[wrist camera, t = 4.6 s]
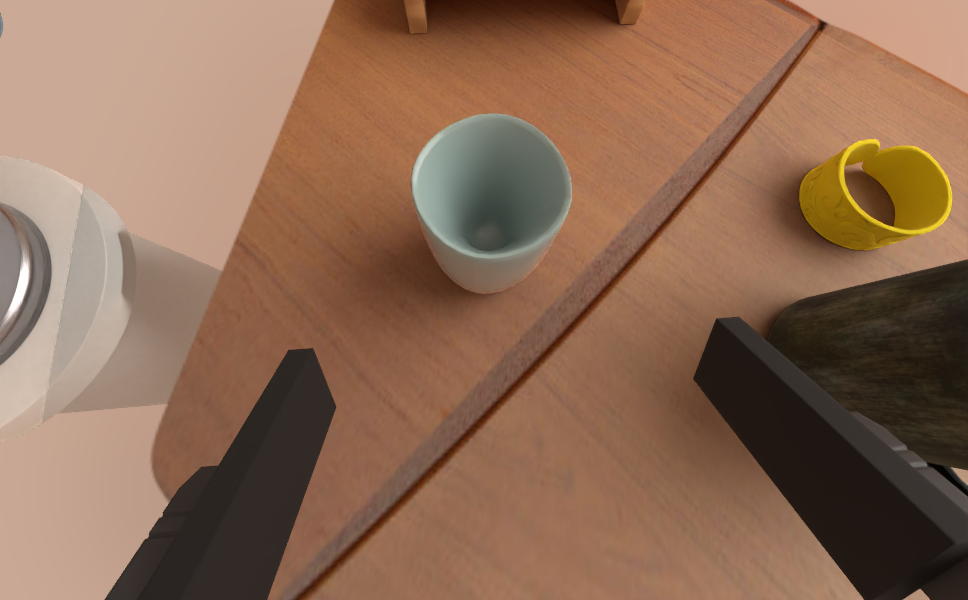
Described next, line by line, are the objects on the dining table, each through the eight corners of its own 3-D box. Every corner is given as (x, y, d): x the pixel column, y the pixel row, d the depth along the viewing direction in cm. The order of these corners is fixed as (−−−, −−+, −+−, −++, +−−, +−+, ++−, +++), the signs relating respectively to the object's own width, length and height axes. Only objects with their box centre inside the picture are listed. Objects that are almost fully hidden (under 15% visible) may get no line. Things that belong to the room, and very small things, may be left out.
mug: (863, 278, 27) (1164, 201, 15) (958, 481, 24) (1426, 584, 12) (729, 309, 26) (936, 255, 14) (811, 523, 23) (1156, 675, 11)
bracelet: (903, 257, 27) (960, 242, 24) (799, 242, 27) (842, 224, 24) (895, 172, 29) (948, 147, 25) (796, 158, 29) (836, 131, 26)
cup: (558, 268, 26) (605, 205, 17) (470, 324, 25) (466, 292, 16) (500, 188, 28) (513, 86, 18) (415, 239, 27) (379, 159, 17)
